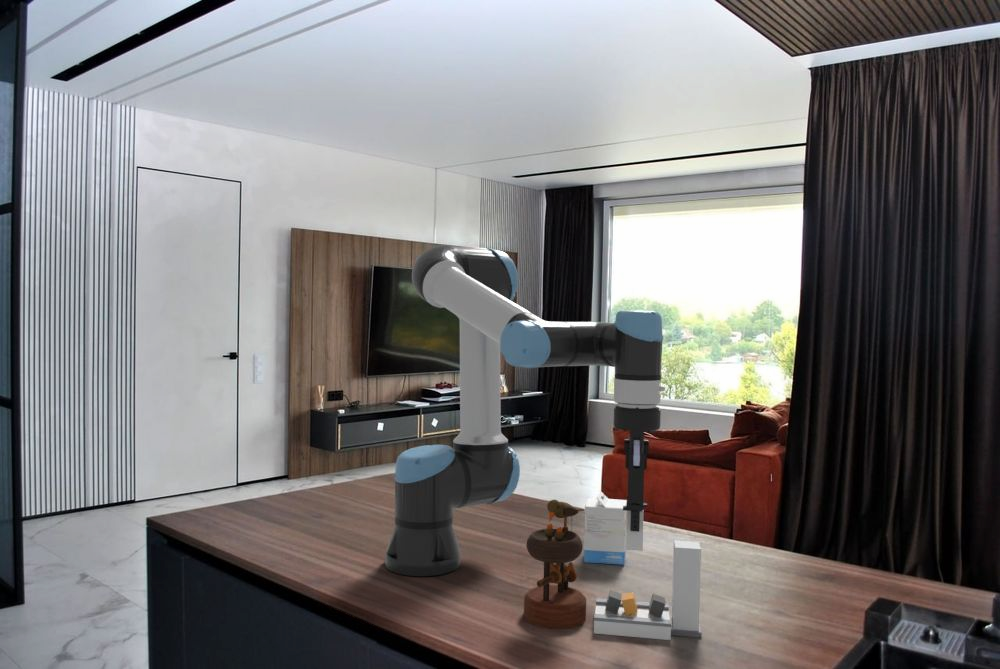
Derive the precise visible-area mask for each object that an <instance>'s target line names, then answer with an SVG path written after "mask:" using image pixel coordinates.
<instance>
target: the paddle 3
mask: <svg viewBox="0 0 1000 669" xmlns="http://www.w3.org/2000/svg"><path fill="white" fill-rule="evenodd" d="M650 598H651V599H650V604H649V614H652V615H654V616H657V617H660V618H661V616H662V613H663V610H664V607H665V604H666V598H665V597H664V596H661V595H658V594H655V593H652V595H651V597H650Z"/></svg>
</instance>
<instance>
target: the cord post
mask: <svg viewBox="0 0 1000 669" xmlns="http://www.w3.org/2000/svg"><path fill="white" fill-rule="evenodd" d="M701 557H702V547H701V544H700V541H691V540H688V541H687V540H675V539H674V540H673V558H672V559H673V560H672V562H673V563H672V596H671V597H672V598H671V599H672V600H671V601H672V602H671V603H672V605H671V617H670V620H671V636H680V637H688V638H689V637H691V638H702V636H703V635H702V634H703V633H702V628H701V624H700V607H701V606H700V604H701V603H700V600H701V599H700V598H701V596H700V595H701V564H702V563H701V561H702V558H701Z"/></svg>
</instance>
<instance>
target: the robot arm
mask: <svg viewBox="0 0 1000 669" xmlns="http://www.w3.org/2000/svg"><path fill="white" fill-rule="evenodd" d="M411 281H412V286H413V288H414V290H415V292H416V293H417V294H418V296H419V297H420V298H421V299H422V300H423V301H425V302H427V304H430V305H431V306H432V307H435V308H438V309H441V308H443V309H444V308H445V309H446V310H448V311H449V312H451V313H452V314H454V315H455V316H456V317H457V318H458V319H459V400H460V401H459V408H460V409H459V412H460V414H459V415H460V416H459V418H460V420H459V424H460V427H459V428H460V430H459V433H458V435H457V436H456V437H455V438H454V439H453V440H452V444H453V445H452V446H450V445H446V444H432V445H429V444H427V445H420V446H415V447H411V448H409V449H406V450H404V451H402V452H401V453H400V454H399V455H398V456H397V459H396V460H395V461H396V462H395V468H394V469H395V471H394V476H393V477H394V481H395V482H394V527H393V531H392V533H391V536H390V539H389V542H388V545H387V548H386V551H385V555H384V558H385V559H384V562H385V563H384V566H385V567H386V569H388V570H389V571H390V572H393V573H395V574H399V575H403V576H411V577H431V576H432V577H433V576H439V575H445V574H448V573H452V572H453V571H455V570H457V569H459V568H460V566H461V562H462V561H461V559H462V558H461V555H462V554H461V550H460V547H459V544H458V540H457V537H456V533H455V530H454V527H453V525H454V524H453V515H454V514H453V511H454V510H455V509H461V508H465V507H466V508H467V507H473V506H480V505H491V504H492V505H493V504H495V503H497V502H498V503H499V502H503V501H504V500H506V499H509V498H510V497H511V495H512V494H514V492H515V490H516V488H518V487H517V486H518V484H519V480H520V475H521V465H520V461H519V458H517V456H518V455H517V453H516V452H515V450H513V448H512V447H510V446H509V439H508V438H507V437H506V436H505V435H504V434H503V433H502V426H501V423H502V422H501V417H502V416H501V414H502V413H501V412H502V409H501V404H502V403H501V402H502V401H501V399H502V398H501V354H502V355H503V357H504V361H505V362H506V363H507V364H508V365H510V366H512V367H515V368H524V369H525V368H526V369H535V368H536V369H537V368H545V367H546V368H549V367H550V368H551V367H580V366H581V367H582V366H587V367H588V366H597V367H598V366H600V367H601V366H602V367H613V368H614V377H613V402H614V403H616V404H617V405H615V406H614V408H613V426H614V428H615V429H616V430H618V431H622V432H623V431H626V432H629V438H624V439H623V440H624V441H623V443H624V444H623V448H624V453H625V461H624V462H625V465H624V467H625V469H627V471H628V474H627V479H628V480H627V495H626V500H627V506H623V510H626V511H627V520H626V551H638V552H640V551H641V552H643V550H644V547H643V546H644V514H645V513H644V510H645V509H648V503H647V502H644V495H645V494H644V492H645V491H644V489H645V488H644V487H645V483H644V482H645V471H646V470H647V468H648V454H649V453H650V442H649V440H648V439H644V438H645V433H646V432H648V433H649V432H651V433H652V432H657V431H659V430H660V429H661V409H660V406H657V405H660V403H661V396H662V395H661V393H660V392H664V391H665V390H666V387H665V385H661V383H662V381H661V380H662V358H663V357H662V355H663V353H662V352H663V340H664V335H663V320H662V319H663V318H662V315H661V313H659V312H658V311H654V310H619V311H618V312H616V315H615V321H614V322H608V321H607V322H605V321H604V322H603V321H592V320H591V321H590V320H588V321H586V320H581V321H560V320H559V321H557V320H556V321H555V320H553V321H552V320H549V321H548V320H544V319H542V318H540V317H539V316H537V315H535V314H533V313H532V312H531V311H529V310H527V309H525V308H524V307H522V306H520V305H519V304H517V303H515V302H514V301H513V300H514V298H515V297H516V293H517V292H518V288H519V274H518V270H517V267H516V265H515V262H514V260H513V259H512V258H510V255H508V254H507V253H506V252H504V251H502V250H499V249H494V248H490V247H479V246H478V247H475V246H459V245H450V244H449V245H448V244H443V245H441V244H440V245H434V246H432V247H429V248H428V249H426V250H425V251H423V252H422V253H421V254H420V255H419V256H418V257H417V258H416V260H415V262H414V264H413V267H412V272H411Z"/></svg>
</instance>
